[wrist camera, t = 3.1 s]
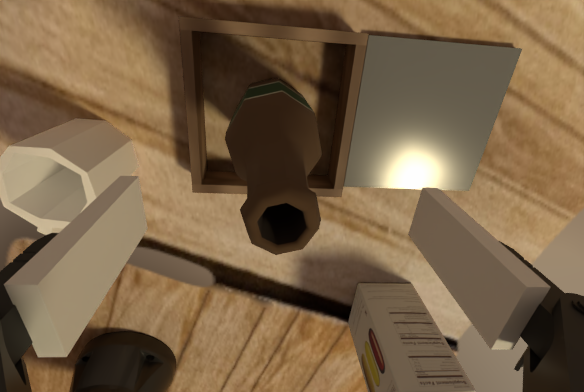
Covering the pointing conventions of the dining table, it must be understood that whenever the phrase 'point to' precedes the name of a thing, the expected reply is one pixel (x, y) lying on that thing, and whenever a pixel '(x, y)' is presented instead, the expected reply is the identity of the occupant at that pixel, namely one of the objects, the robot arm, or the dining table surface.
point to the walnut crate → (353, 40)
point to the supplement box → (401, 342)
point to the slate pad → (425, 112)
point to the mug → (63, 171)
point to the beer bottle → (276, 165)
